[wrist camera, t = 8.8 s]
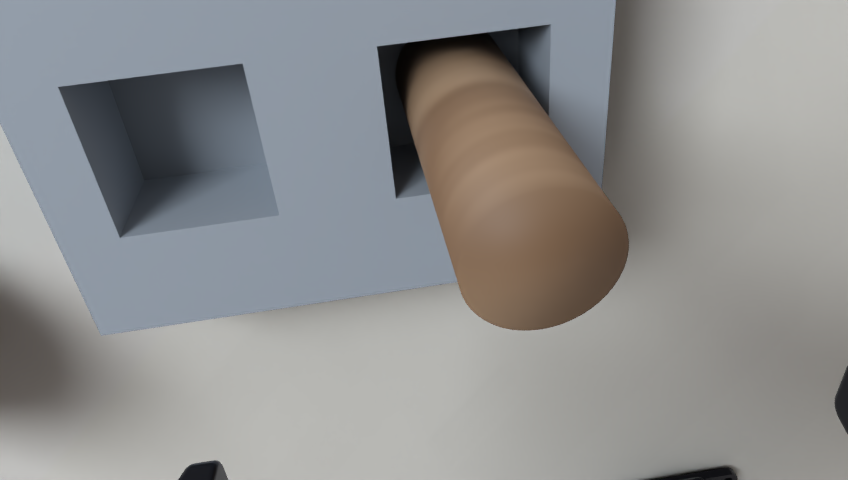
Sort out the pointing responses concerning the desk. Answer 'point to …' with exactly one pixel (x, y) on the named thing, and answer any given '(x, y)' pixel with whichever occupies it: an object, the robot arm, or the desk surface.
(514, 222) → the dowel
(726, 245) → the desk surface
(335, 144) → the socket block
